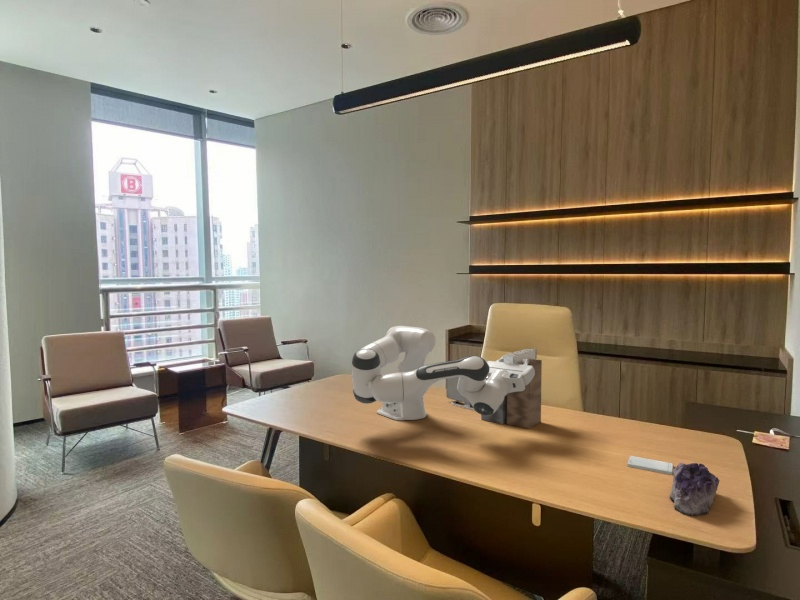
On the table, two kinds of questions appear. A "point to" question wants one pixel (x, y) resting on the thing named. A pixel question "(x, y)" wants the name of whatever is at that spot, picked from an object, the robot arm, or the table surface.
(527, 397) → the two-tier stand
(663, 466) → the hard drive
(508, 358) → the grey rectangular bar
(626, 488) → the table surface
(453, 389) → the network device
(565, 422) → the table surface
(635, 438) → the table surface
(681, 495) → the geode
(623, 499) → the table surface
